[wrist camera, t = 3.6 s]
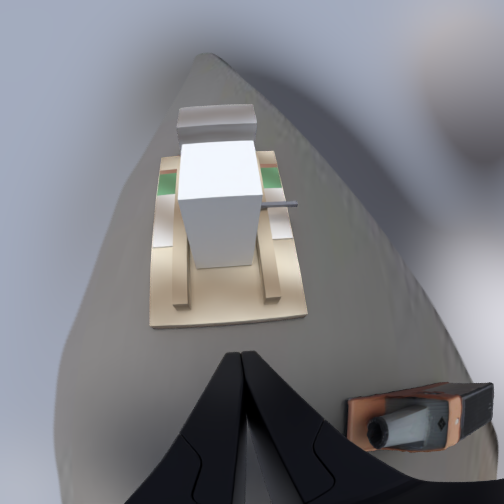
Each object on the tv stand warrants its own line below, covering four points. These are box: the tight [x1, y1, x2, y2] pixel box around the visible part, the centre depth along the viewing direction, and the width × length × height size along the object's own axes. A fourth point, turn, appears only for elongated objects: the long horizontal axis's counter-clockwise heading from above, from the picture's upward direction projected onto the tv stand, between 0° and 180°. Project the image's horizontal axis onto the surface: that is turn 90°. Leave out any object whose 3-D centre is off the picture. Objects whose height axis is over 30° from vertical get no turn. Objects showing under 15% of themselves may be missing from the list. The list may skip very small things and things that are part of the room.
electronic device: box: [347, 382, 494, 453], centre depth 13 cm, size 4×10×8 cm, turn 88°
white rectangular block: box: [178, 141, 298, 269], centre depth 17 cm, size 4×8×8 cm, turn 96°
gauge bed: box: [150, 104, 308, 329], centre depth 20 cm, size 17×11×6 cm, turn 6°
